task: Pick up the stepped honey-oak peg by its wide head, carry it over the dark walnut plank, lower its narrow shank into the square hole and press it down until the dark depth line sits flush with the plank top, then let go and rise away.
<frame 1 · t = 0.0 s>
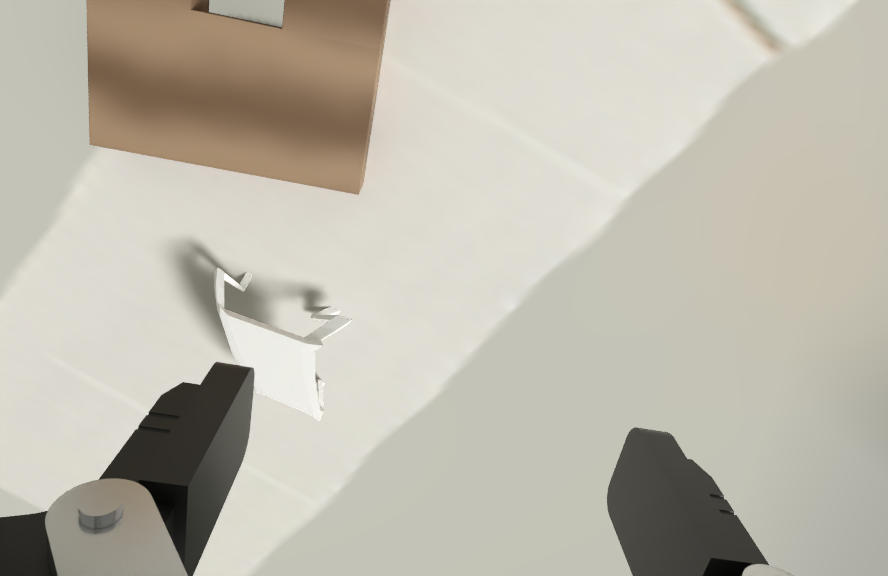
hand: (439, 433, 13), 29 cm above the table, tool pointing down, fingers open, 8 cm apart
origami figure: (287, 320, 44), on the table
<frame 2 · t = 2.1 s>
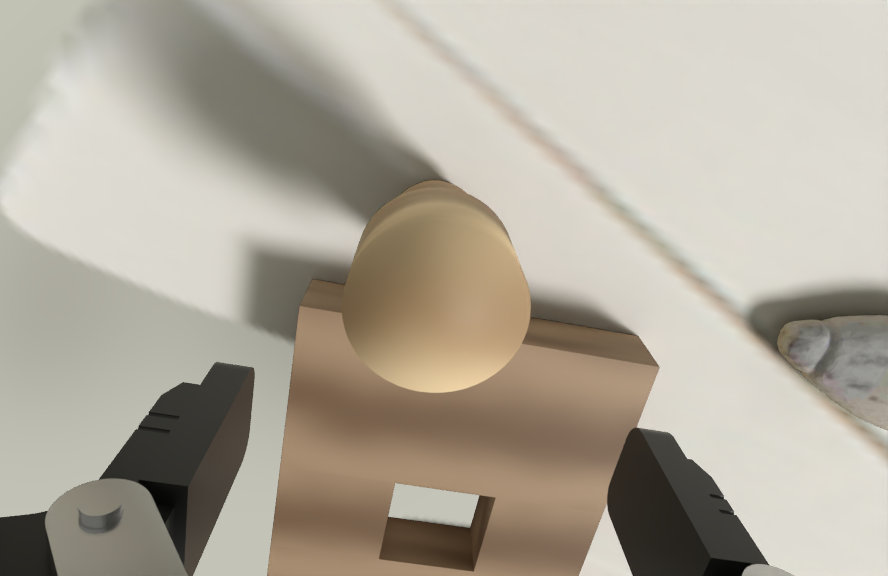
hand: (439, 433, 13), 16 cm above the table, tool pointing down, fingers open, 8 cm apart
oak peg: (434, 217, 27), on the table
walnut plank: (435, 487, 33), on the table
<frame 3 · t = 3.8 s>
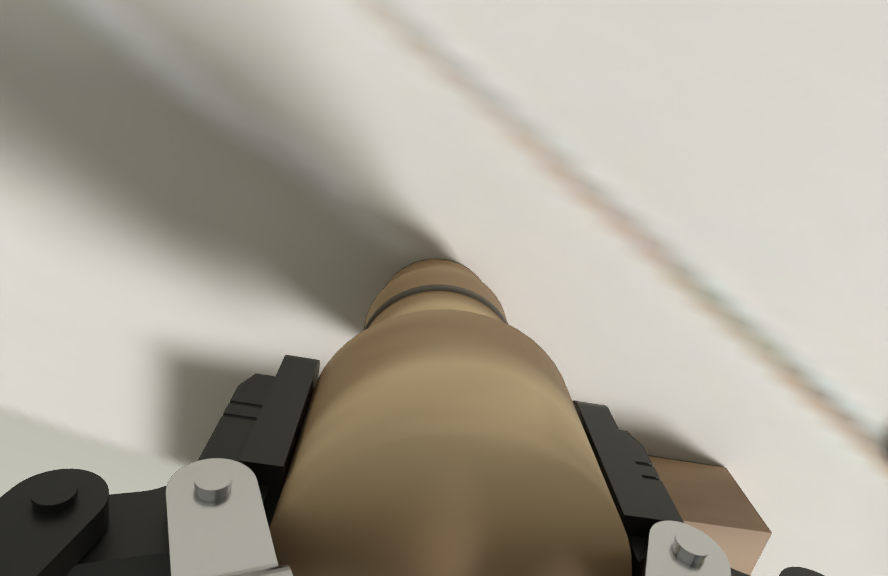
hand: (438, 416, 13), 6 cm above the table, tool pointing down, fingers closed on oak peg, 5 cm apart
oak peg: (435, 311, 18), on the table, touching gripper
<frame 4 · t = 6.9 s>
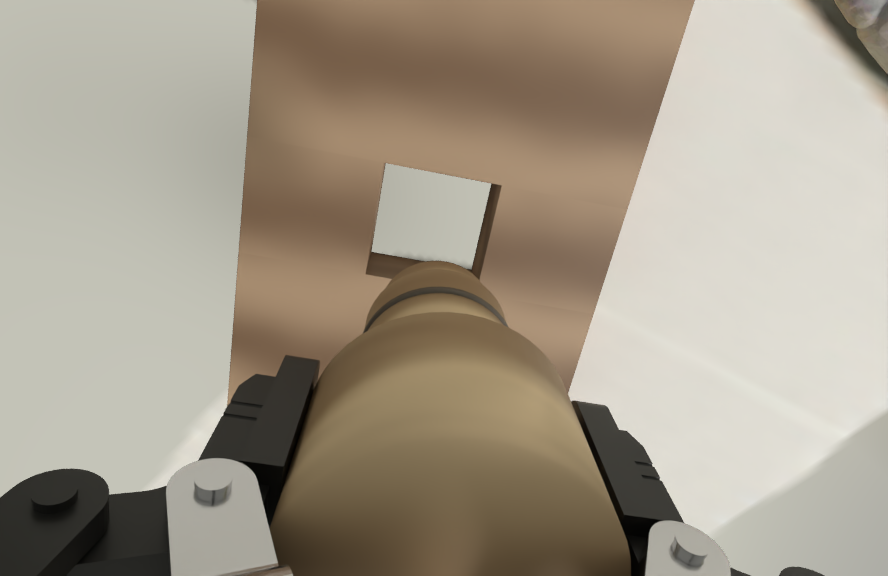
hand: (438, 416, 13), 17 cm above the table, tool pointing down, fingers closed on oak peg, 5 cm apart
oak peg: (435, 313, 18), point 11 cm above the table, touching gripper
walnut plank: (431, 212, 29), on the table
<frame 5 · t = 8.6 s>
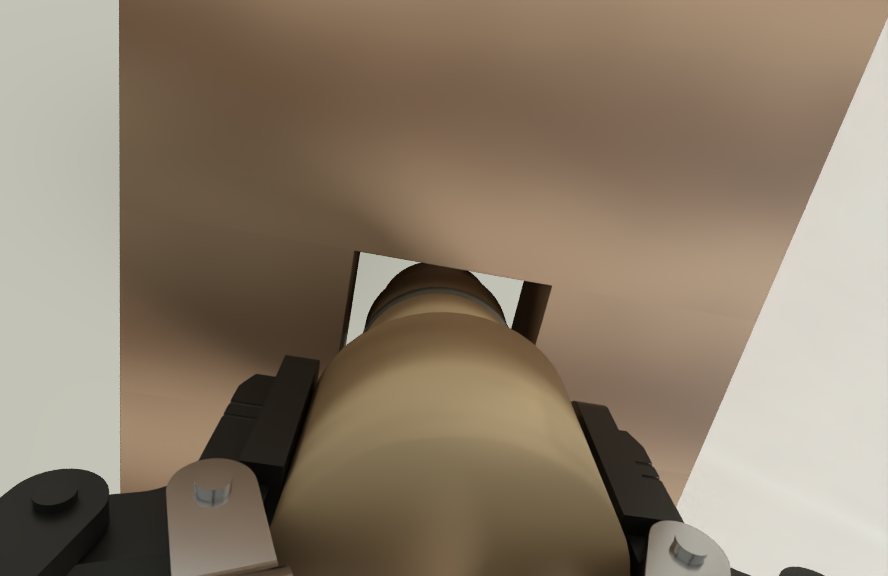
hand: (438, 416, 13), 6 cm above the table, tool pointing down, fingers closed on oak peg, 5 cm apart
oak peg: (434, 313, 18), resting in walnut plank, touching gripper
walnut plank: (434, 309, 19), on the table
when the fingers open (6 cm above the table, at t = 10.0 s): oak peg stays where it is, resting in walnut plank.
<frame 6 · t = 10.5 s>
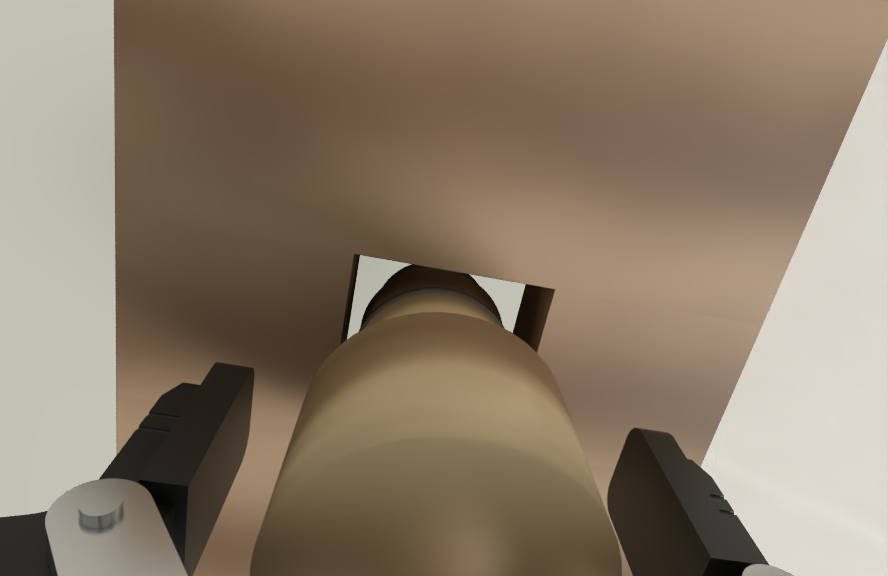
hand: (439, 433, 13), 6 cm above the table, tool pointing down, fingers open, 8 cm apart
oak peg: (431, 313, 18), resting in walnut plank
walnut plank: (435, 312, 18), on the table
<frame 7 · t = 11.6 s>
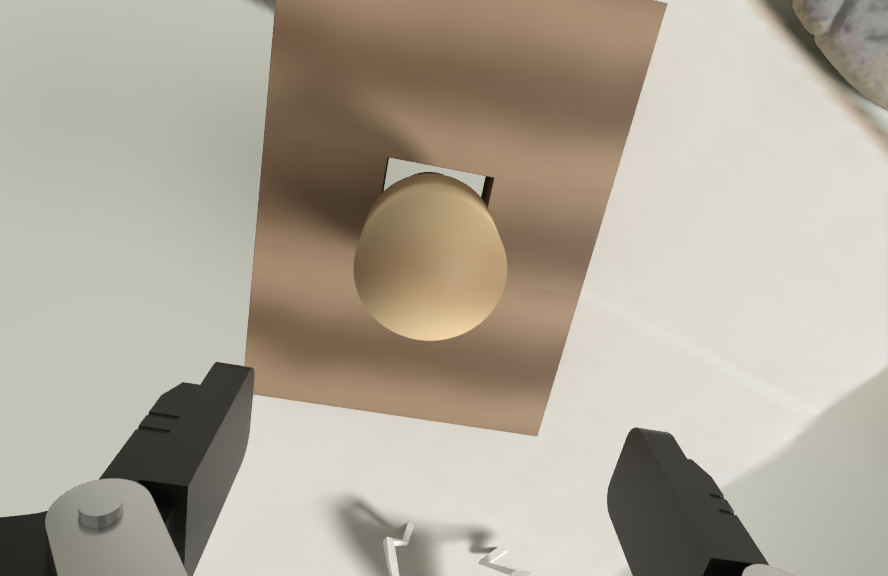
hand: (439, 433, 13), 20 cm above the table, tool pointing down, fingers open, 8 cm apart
oak peg: (428, 205, 31), resting in walnut plank
origami figure: (450, 561, 41), on the table
walnut plank: (430, 204, 31), on the table
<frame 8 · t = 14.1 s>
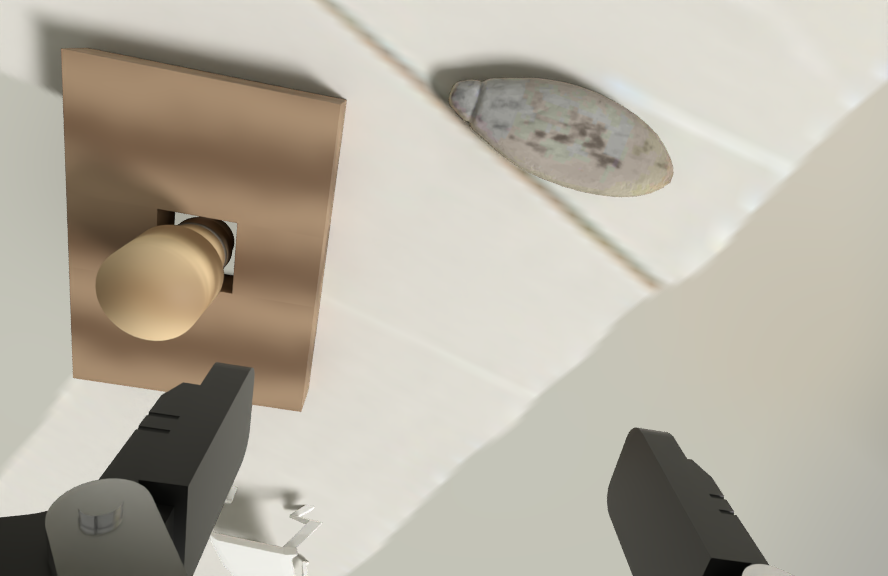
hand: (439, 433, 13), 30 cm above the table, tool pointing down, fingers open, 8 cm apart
oak peg: (209, 239, 42), resting in walnut plank
decorative stone: (558, 130, 40), on the table
origami figure: (271, 516, 52), on the table
walnut plank: (210, 238, 42), on the table
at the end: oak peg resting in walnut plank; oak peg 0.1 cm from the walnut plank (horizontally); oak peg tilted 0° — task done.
